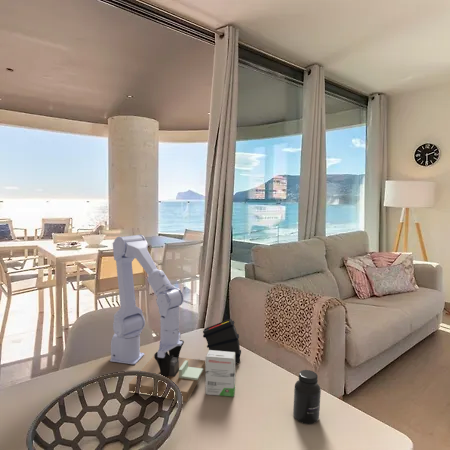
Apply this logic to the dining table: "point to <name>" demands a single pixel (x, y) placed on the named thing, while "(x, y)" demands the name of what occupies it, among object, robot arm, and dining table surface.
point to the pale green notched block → (189, 371)
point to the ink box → (220, 373)
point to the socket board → (183, 384)
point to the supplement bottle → (307, 397)
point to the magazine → (223, 338)
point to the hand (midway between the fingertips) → (169, 369)
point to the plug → (174, 367)
